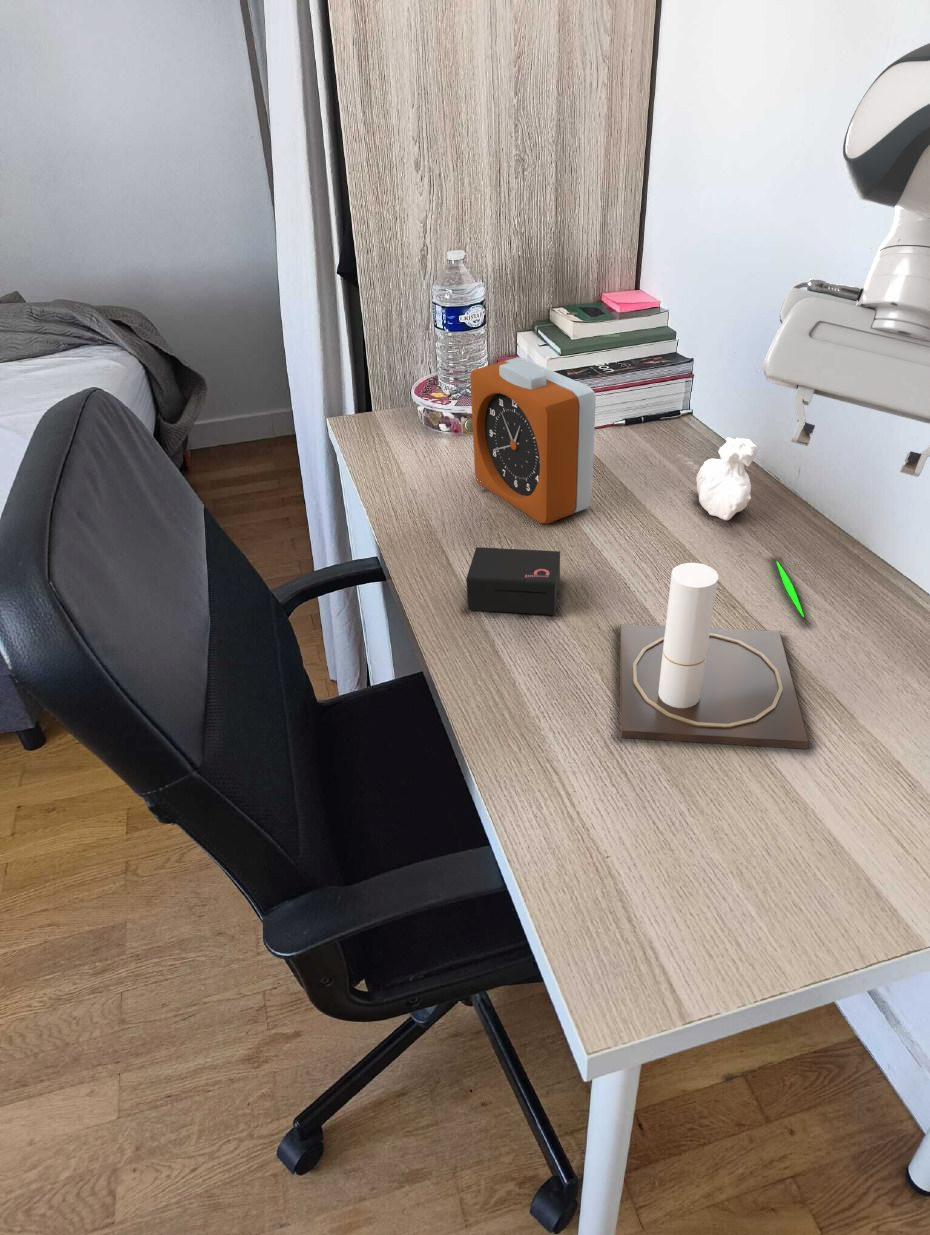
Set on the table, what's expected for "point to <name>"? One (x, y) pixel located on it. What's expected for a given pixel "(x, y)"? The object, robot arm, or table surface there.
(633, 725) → the board
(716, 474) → the white tied bag
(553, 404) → the alarm clock
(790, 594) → the leaf
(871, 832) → the table surface
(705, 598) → the tube
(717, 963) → the table surface
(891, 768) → the table surface
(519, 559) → the electronic device
